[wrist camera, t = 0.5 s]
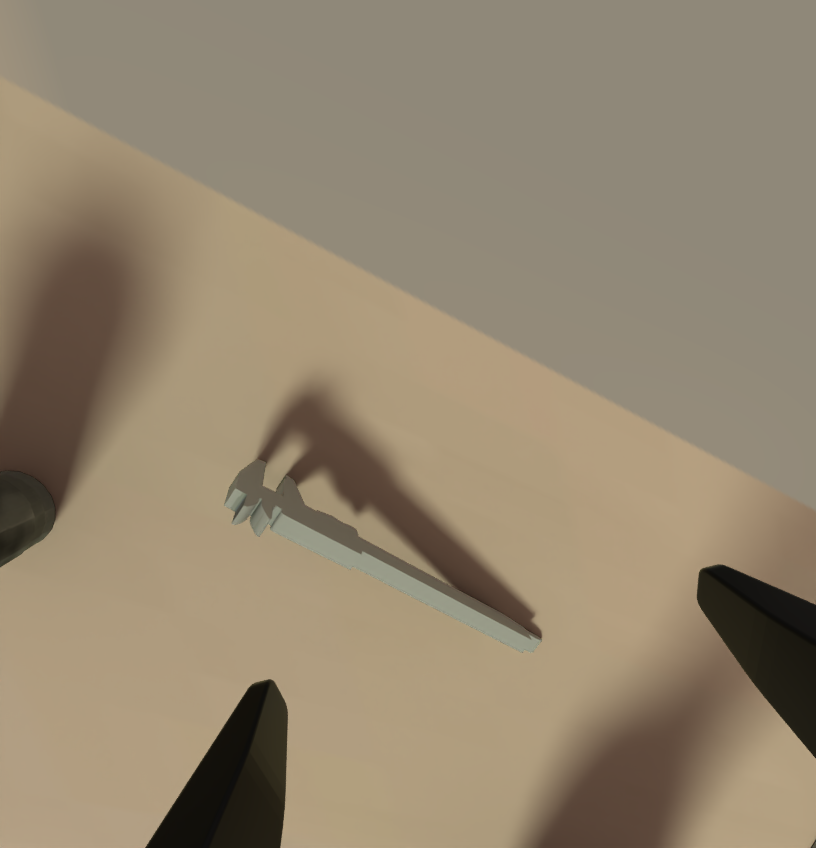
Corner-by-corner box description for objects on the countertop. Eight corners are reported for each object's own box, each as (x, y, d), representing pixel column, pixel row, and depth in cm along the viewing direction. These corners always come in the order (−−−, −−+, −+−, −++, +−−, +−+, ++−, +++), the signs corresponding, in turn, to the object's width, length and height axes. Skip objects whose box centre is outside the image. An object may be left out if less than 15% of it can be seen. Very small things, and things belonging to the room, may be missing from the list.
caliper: (250, 471, 24) (201, 507, 18) (260, 456, 24) (214, 487, 17) (530, 647, 26) (574, 735, 20) (540, 634, 26) (587, 718, 20)
